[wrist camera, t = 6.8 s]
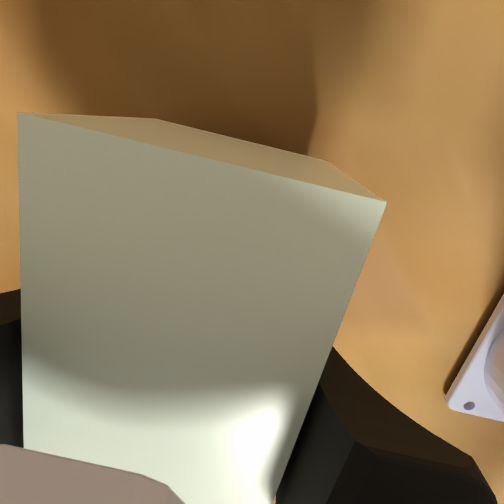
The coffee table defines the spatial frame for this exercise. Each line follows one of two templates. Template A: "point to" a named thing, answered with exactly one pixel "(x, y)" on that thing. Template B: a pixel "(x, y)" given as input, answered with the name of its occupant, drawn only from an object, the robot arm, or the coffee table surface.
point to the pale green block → (179, 297)
